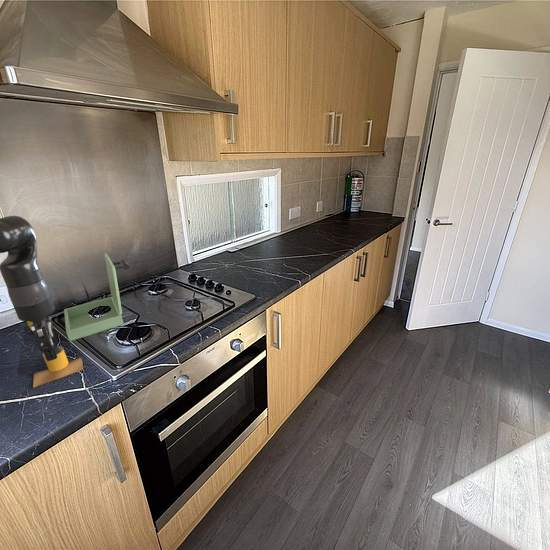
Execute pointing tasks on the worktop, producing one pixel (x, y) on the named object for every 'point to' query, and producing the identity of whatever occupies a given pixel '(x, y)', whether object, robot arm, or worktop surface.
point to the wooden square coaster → (57, 372)
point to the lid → (115, 279)
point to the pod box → (90, 319)
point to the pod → (57, 360)
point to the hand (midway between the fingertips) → (52, 350)
